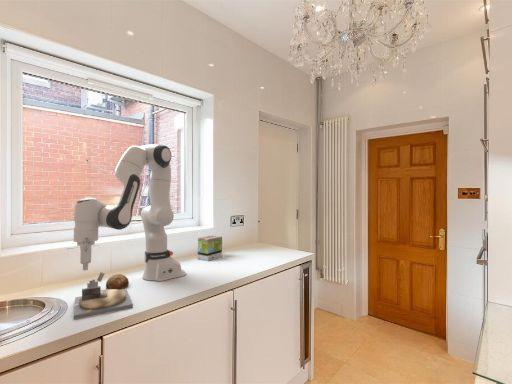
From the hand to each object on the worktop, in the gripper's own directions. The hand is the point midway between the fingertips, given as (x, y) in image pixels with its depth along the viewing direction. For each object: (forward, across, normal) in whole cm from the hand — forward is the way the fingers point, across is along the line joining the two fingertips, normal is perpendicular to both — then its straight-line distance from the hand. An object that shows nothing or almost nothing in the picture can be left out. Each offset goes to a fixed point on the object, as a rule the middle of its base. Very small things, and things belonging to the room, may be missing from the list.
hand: (85, 269), depth 118 cm
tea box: (+13, +46, -75) cm, 88 cm away
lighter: (+14, +15, -5) cm, 21 cm away
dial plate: (+14, -5, -7) cm, 16 cm away
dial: (+12, -5, -7) cm, 15 cm away
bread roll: (+14, +15, -14) cm, 25 cm away
